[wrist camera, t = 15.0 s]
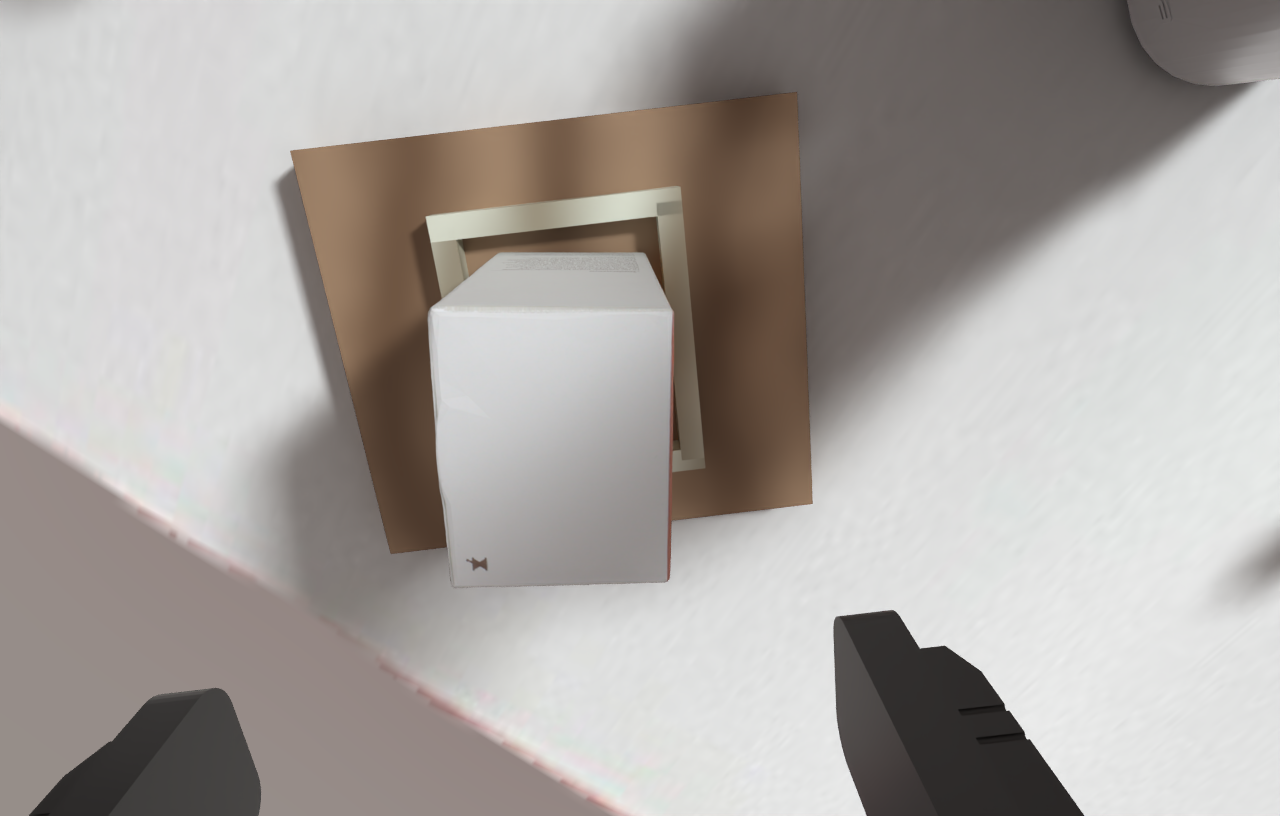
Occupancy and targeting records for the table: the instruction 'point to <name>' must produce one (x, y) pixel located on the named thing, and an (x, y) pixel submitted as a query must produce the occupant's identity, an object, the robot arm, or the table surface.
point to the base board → (581, 223)
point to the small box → (555, 420)
